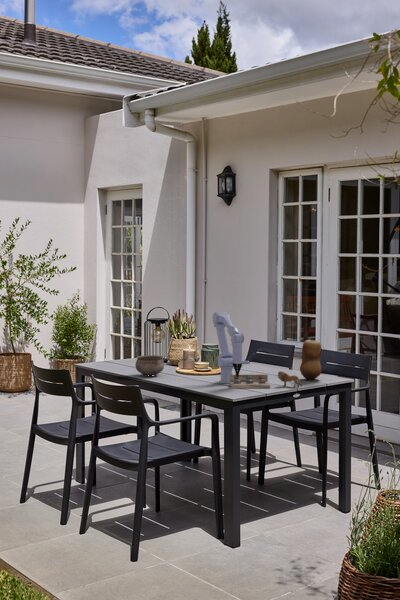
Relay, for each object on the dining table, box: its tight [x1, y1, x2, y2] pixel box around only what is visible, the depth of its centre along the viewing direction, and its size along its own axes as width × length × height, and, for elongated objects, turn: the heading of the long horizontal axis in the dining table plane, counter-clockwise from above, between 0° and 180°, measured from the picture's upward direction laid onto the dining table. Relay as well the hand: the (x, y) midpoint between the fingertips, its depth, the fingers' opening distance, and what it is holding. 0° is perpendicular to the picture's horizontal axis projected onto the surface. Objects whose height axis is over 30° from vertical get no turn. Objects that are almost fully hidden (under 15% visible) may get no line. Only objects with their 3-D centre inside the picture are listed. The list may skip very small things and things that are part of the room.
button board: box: [229, 374, 271, 389], centre depth 476 cm, size 14×23×6 cm, turn 92°
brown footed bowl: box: [135, 354, 165, 377], centre depth 517 cm, size 25×19×12 cm
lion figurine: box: [277, 370, 303, 388], centre depth 476 cm, size 15×5×9 cm, turn 80°
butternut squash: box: [299, 339, 322, 381], centre depth 502 cm, size 14×13×25 cm
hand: (237, 376), depth 475 cm, fingers closed
